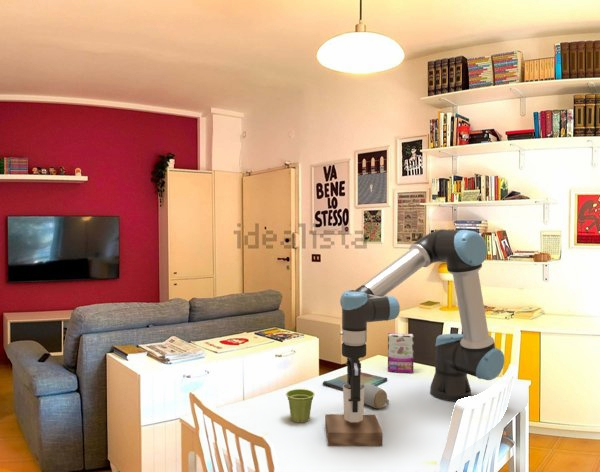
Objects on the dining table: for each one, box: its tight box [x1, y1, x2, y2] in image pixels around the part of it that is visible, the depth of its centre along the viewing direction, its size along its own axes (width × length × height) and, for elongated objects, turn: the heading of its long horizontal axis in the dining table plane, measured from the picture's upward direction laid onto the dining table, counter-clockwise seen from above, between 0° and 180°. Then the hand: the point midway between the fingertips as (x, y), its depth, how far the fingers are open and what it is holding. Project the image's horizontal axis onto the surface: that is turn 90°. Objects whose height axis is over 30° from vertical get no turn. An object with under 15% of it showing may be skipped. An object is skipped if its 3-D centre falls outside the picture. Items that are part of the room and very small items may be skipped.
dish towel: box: [322, 371, 388, 392], centre depth 210 cm, size 17×23×2 cm
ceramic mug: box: [364, 383, 390, 410], centre depth 185 cm, size 10×8×7 cm
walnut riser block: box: [324, 413, 384, 447], centre depth 159 cm, size 16×14×4 cm
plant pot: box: [285, 388, 315, 423], centre depth 171 cm, size 9×9×9 cm
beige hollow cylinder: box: [342, 383, 365, 422], centre depth 158 cm, size 7×7×10 cm
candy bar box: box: [387, 332, 415, 374], centre depth 227 cm, size 11×5×16 cm, turn 80°
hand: (353, 417), depth 159 cm, fingers closed on beige hollow cylinder, 6 cm apart
